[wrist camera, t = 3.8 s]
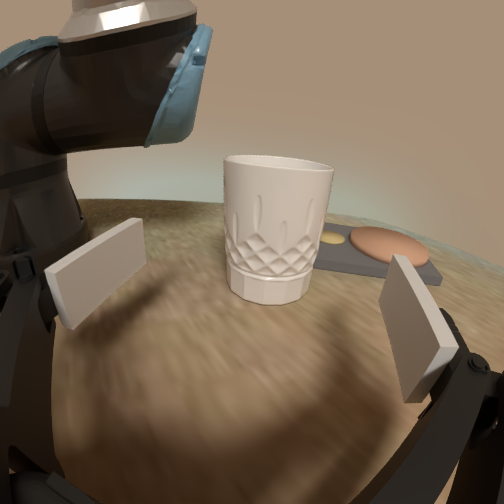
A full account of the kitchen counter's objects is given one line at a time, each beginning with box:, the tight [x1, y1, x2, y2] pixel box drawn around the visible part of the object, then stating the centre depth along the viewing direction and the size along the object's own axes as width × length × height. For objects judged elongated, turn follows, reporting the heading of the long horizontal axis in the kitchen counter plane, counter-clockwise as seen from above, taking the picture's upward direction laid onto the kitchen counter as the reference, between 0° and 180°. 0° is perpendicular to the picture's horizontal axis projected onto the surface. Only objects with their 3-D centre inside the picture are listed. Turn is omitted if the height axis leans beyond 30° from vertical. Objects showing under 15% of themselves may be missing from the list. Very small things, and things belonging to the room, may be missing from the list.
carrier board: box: [313, 223, 443, 286], centre depth 30 cm, size 15×12×2 cm
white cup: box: [224, 155, 334, 305], centre depth 21 cm, size 8×8×10 cm
